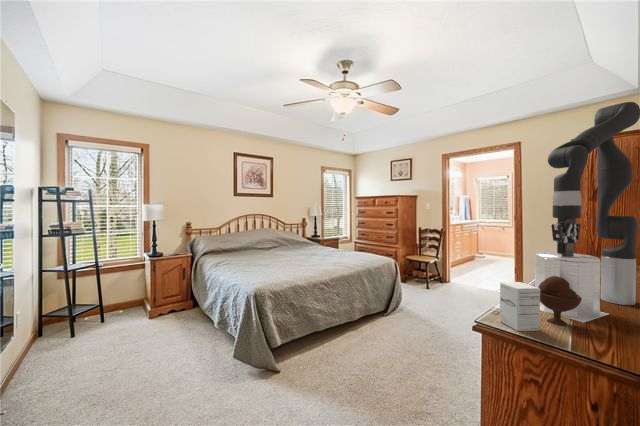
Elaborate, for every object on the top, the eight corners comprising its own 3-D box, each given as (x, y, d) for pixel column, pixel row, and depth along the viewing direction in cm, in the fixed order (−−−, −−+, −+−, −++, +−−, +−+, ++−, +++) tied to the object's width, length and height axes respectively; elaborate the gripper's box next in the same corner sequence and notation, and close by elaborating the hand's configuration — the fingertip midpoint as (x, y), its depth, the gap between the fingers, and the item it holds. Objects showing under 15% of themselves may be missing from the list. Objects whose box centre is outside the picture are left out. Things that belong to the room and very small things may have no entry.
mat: (550, 300, 109) (550, 299, 109) (609, 315, 94) (609, 314, 94) (524, 306, 102) (524, 305, 102) (583, 324, 87) (583, 322, 87)
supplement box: (498, 321, 89) (499, 281, 88) (520, 320, 89) (520, 281, 89) (516, 331, 81) (517, 288, 81) (540, 330, 82) (541, 287, 82)
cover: (550, 299, 109) (551, 239, 109) (609, 314, 94) (610, 244, 94) (524, 305, 102) (525, 241, 102) (583, 322, 87) (584, 246, 87)
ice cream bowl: (590, 332, 81) (591, 280, 80) (546, 329, 83) (547, 278, 83) (566, 318, 91) (567, 272, 91) (527, 316, 93) (528, 271, 93)
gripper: (564, 204, 104) (564, 250, 104) (542, 204, 98) (541, 252, 98) (590, 204, 97) (590, 253, 98) (568, 204, 91) (568, 256, 91)
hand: (565, 252), depth 98 cm, fingers open, 5 cm apart
